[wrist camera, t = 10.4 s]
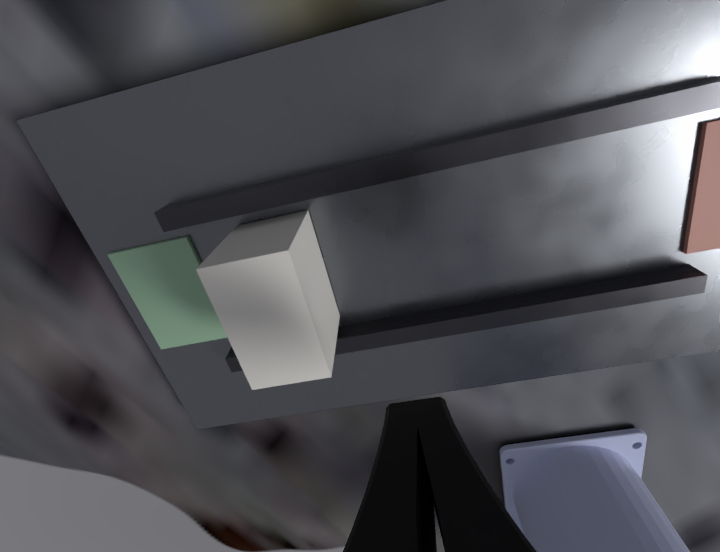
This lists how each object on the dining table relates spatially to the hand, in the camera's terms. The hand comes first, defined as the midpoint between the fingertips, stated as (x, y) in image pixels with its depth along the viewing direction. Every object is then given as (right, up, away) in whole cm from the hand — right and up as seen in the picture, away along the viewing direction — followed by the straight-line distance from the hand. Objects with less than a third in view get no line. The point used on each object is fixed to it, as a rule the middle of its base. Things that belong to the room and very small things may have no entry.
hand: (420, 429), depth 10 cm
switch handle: (-4, +4, +7) cm, 9 cm away
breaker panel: (+2, +6, +7) cm, 10 cm away
